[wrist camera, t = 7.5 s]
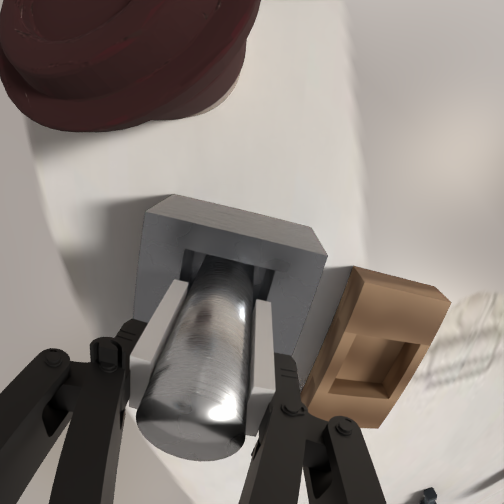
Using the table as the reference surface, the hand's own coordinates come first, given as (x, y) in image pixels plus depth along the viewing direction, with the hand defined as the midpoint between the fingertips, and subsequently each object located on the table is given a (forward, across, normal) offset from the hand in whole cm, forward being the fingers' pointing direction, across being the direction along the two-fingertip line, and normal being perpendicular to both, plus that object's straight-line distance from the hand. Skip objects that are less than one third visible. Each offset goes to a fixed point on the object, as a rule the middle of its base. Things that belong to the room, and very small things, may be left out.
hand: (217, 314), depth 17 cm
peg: (+6, 0, 0) cm, 6 cm away
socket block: (+8, 0, -3) cm, 8 cm away
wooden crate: (+8, +13, -5) cm, 16 cm away
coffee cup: (+8, -6, +13) cm, 16 cm away
